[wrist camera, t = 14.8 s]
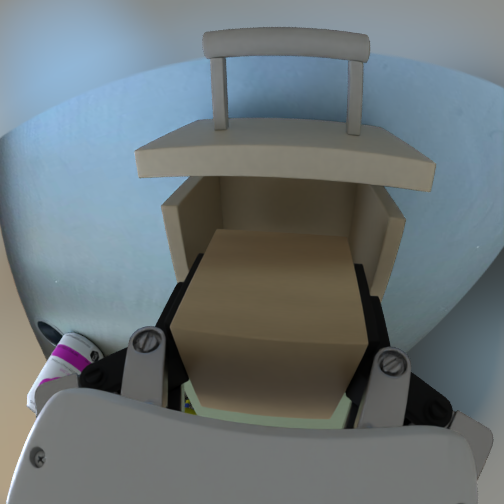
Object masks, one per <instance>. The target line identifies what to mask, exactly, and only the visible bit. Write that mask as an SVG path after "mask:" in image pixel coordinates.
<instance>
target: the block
mask: <svg viewBox="0 0 504 504" xmlns="http://www.w3.org/2000/svg"><path fill="white" fill-rule="evenodd" d="M170 329H171V332H172V334H173V337H174V340H175V343H176V345H177V348H178V351H179V354H180V356H181V359H182V361H183V364H184V366H185V369H186V371H187V374H188V376H189V379H190V381H191V384H192V386H193V389H194V391H195V393H196V396H197V398H198V400H199V402H200V405H201V406H202V407H207V408H213V409H218V410H224V411H231V412H238V413H245V414H253V415H262V416H272V417H284V418H301V419H330V418H331V416H332V415H333V413H334V411H335V409H336V408H337V406H338V404H339V402H340V400H341V399H342V397H343V395H344V393H345V391H346V389H347V387H348V385H349V383H350V382H351V380H352V378H353V376H354V374H355V372H356V370H357V367H358V365H359V363H360V361H361V359H362V357H363V355H364V353H365V350H366V348H367V346H368V337H367V331H366V325H365V319H364V314H363V308H362V303H361V298H360V292H359V288H358V283H357V278H356V273H355V269H354V264H353V260H352V256H351V251H350V247H349V243H348V239H347V237H343V236H329V235H314V234H299V233H283V232H265V231H247V230H228V229H217V230H216V232H215V234H214V236H213V238H212V240H211V242H210V244H209V246H208V248H207V250H206V252H205V254H204V256H203V258H202V260H201V262H200V264H199V266H198V268H197V270H196V272H195V274H194V276H193V278H192V280H191V282H190V284H189V286H188V289H187V291H186V293H185V295H184V297H183V299H182V301H181V303H180V305H179V308H178V310H177V312H176V314H175V316H174V318H173V320H172V323H171V325H170Z"/></svg>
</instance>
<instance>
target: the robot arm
mask: <svg viewBox="0 0 504 504" xmlns="http://www.w3.org/2000/svg"><path fill="white" fill-rule="evenodd" d="M204 254H205V253H199V254H198V255H197V257H196V259H195V261H194V263H193V265H192V267H191V269H190V271H189V273H188V275H187V276H186V278H185V280H184V282H178V283H177V285H176V287H175V288H174V290H173V292H172V294H171V296H170V298H169V300H168V302H167V304H166V306H165V308H164V310H163V312H162V314H161V316H160V318H159V320H158V322H157V324H156V326H146V327H142V328H140V329H138V330H137V331H135V332H134V333H133V334H132V336H131V337H130V340H129V343H128V347H127V348H124V349H122V350H120V351H118V352H116V353H113V354H111V355H109V356H107V357H104V358H102V359H100V360H97V361H95V362H93V363H91V364H89V365H87V366H86V367H85V368H84V369H83V370H82V372H81V374H79V375H78V374H77V372H76V373H73V374H70V375H67V376H64V377H61V378H57V379H54V380H51V381H48V382H44V383H42V384H40V385H39V386H38V387H37V389H36V391H35V396H34V399H35V411H36V421H35V423H34V425H33V427H32V429H31V431H30V433H29V435H28V437H27V440H26V442H25V445H24V447H23V450H22V453H21V455H20V458H19V461H18V463H17V466H16V469H15V472H14V476H13V479H12V482H11V486H10V490H9V494H8V497H7V502H6V504H478V488H477V480H478V478H479V476H480V474H481V472H482V469H483V467H484V465H485V463H486V460H487V458H488V456H489V453H490V450H491V448H492V445H493V434H492V432H491V430H489V428H487V427H485V426H484V425H482V424H481V423H479V422H477V421H475V420H474V419H472V418H470V417H468V416H467V415H465V414H464V413H462V412H460V411H459V410H457V411H456V412H455V411H453V410H452V406H451V404H450V402H449V400H447V398H446V397H444V396H443V395H442V394H440V393H439V392H437V391H436V390H435V389H433V388H432V387H431V386H429V385H428V384H427V383H425V382H424V381H423V380H421V379H420V378H419V377H417V376H416V375H415V374H413V373H412V372H411V361H410V359H409V356H408V355H407V354H406V353H405V352H404V351H402V350H401V349H399V348H396V347H391V346H390V341H389V337H388V332H387V328H386V323H385V319H384V315H383V311H382V307H381V303H380V299H379V297H378V296H370V291H369V287H368V283H367V279H366V275H365V271H364V267H363V264H358V263H353V264H354V269H355V273H356V278H357V283H358V288H359V292H360V298H361V303H362V308H363V314H364V319H365V325H366V331H367V337H368V346H367V348H366V350H365V353H364V355H363V357H362V359H361V361H360V363H359V365H358V367H357V370H356V372H355V374H354V376H353V378H352V380H351V382H350V383H349V385H348V387H347V389H346V391H345V393H346V397H348V398H349V399H350V400H351V401H350V404H349V407H348V410H347V414H346V417H345V420H344V423H343V426H342V429H302V428H285V427H273V426H263V425H254V424H246V423H238V422H231V421H225V420H219V419H213V418H208V417H203V416H198V415H193V414H188V413H185V402H184V383H186V382H187V381H189V376H188V374H187V371H186V369H185V366H184V364H183V361H182V359H181V356H180V354H179V351H178V348H177V345H176V343H175V340H174V337H173V334H172V332H171V329H170V325H171V323H172V320H173V318H174V316H175V314H176V312H177V310H178V308H179V305H180V303H181V301H182V299H183V297H184V295H185V293H186V291H187V289H188V286H189V284H190V282H191V280H192V278H193V276H194V274H195V272H196V270H197V268H198V266H199V264H200V262H201V260H202V258H203V256H204Z"/></svg>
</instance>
